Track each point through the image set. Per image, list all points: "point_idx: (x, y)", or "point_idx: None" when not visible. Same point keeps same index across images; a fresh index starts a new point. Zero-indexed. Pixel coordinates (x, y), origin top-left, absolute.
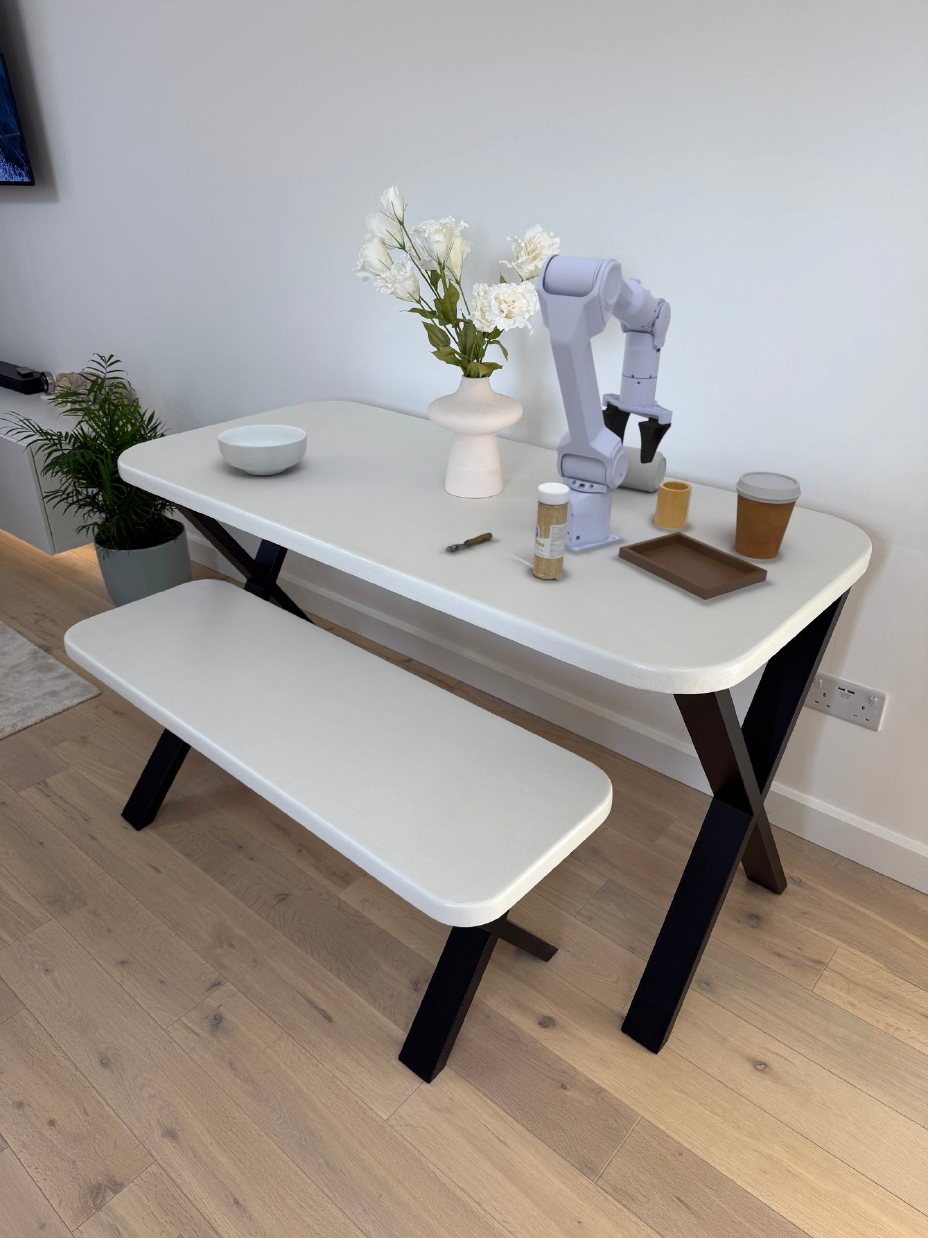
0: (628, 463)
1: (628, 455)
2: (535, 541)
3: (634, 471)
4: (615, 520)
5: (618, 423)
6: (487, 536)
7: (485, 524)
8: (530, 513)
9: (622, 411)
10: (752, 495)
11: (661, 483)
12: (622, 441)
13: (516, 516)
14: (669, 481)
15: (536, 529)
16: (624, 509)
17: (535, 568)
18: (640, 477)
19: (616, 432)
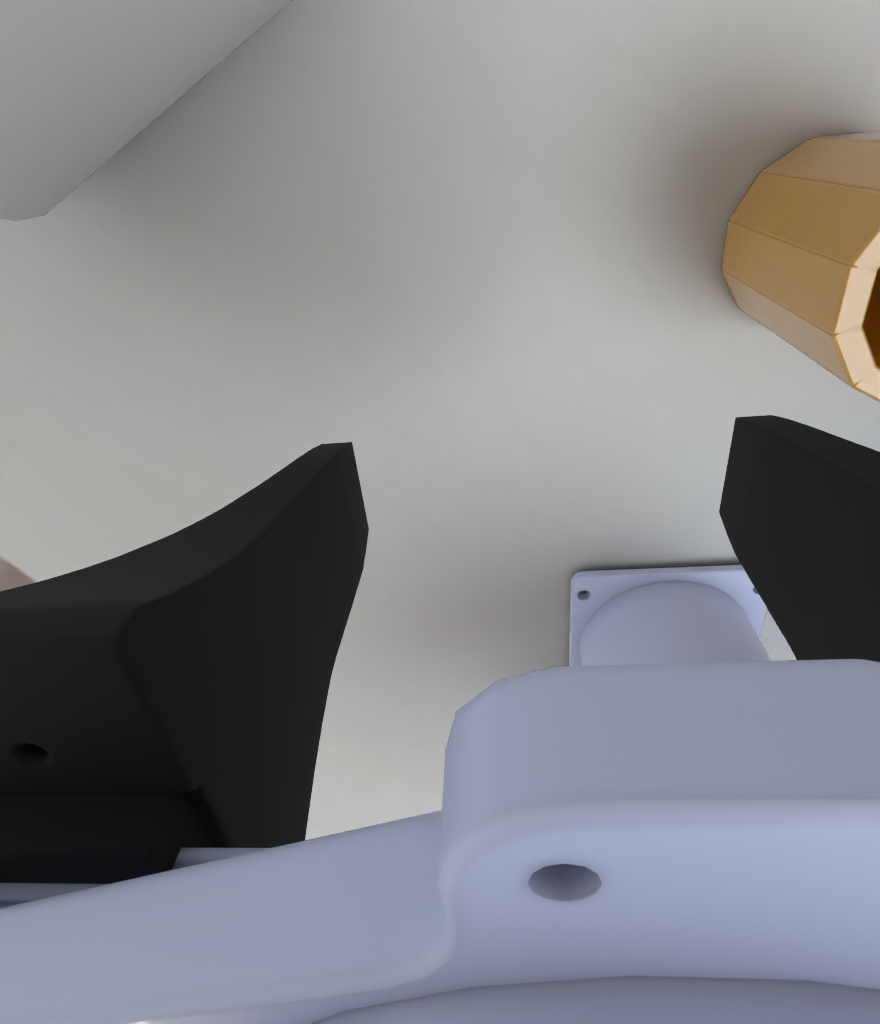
0: (121, 69)
1: (26, 23)
2: None
3: (207, 48)
4: (582, 441)
5: (287, 678)
6: None
7: (394, 779)
8: (358, 655)
9: (219, 786)
10: None
11: (850, 354)
12: (331, 476)
13: (367, 697)
14: (872, 259)
15: None
16: (484, 307)
17: None
18: (267, 16)
19: (316, 613)
